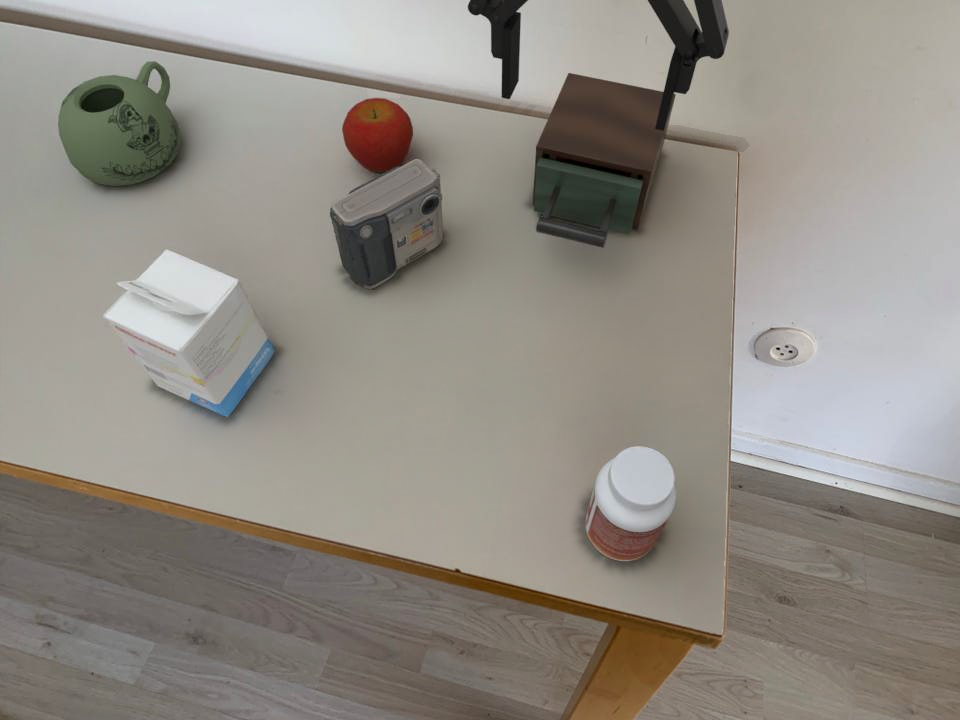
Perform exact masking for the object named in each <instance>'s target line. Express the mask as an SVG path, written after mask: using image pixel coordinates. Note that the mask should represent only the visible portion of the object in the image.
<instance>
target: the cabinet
mask: <svg viewBox="0 0 960 720" xmlns="http://www.w3.org/2000/svg"><path fill="white" fill-rule="evenodd" d="M663 92H664V91H661V90H657V89H652V88H646V87H642V86H638V85H632V84H627V83H623V82H622V83H621V82H617V81H611V80H606V79H601V78H597V77H591V76H587V75H582V74H577V73H572V72H568V73H567V75H566V77H565V79H564V82H563V84H562V87H561V88H560V91H559V93H558V96H557V98H556V100H555V103H554V105H553V107H552V109H551V111H550V113H549V114H550V115H549V116H548V118H547V120H546V122H545V125H544V127H543V129H542V131H541V134H540V136H539V139H538V141H537V142H536V146H535V160H534V176H533V192H532V206H534V198H535V183H536V168H537V163H538V161H539V158H545V159H549V156H550V155H553V156H557V157H562V158H566V159H571V160H575V161H580V162H584V163H589V164H593V165H598V166H602V167H606V168H611V169H615V170H620V171H624V172H629V173H633V174H638V175H642V177H641V180H643V184H642V188H641V193H640V197H639V201H638V206H637V210H636V214H635V218H634V223H633V227H632V230H636V231H638V230H639V227H640V224H641V221H642V218H643V214H644V211H645V207H646V205H647V201H648V198H649V196H650V195H649V194H650V191H651V188H652V185H653V182H654V178H655V175H656V172H657V169H658V165H659V162H660V159H661V156H662V153H663V148H664V143H665V139H666V135H667V132H668V127H669V125H670V124H669V123H670V120H671V116H672V113H673V112H672V111H673V108H674V104H675V100H676V95H677V94H676V93H674V96H673V100H672V104H671V108H670V112H669V115H668V118H667V122H666V125H665V128H664V131H662V130H657V129H655V127H656V122H657V118H658V114H659V109H660V105H661V101H662V96H663Z"/></svg>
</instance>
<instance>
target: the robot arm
mask: <svg viewBox="0 0 960 720" xmlns="http://www.w3.org/2000/svg"><path fill="white" fill-rule="evenodd" d="M528 1H529V0H469V2H468V4H467V11H468V12H469V13H470V14H471V15H473V16H477V17H478V16H479V15H481V16H483V17H484V18H485V19H487V20H488V21H489V24H490V52H491V55H492V58H494V59H499V60H501V99H506V100H511V98H512V96H513V94H514V91H515V89H516V87H517V85H518V83H519V81H520V53H521V52H520V51H521V50H520V49H521V22H522V21H521V20H522V12H520V11H519V10H520V8H522V7H523V6H524V5H525V4H526V3H528ZM647 2H648V3H649V6H650V7H651V9H652V10H653V12H654V13H655V15H656V17H657V18H658V20H659V21H660V23H661V25H662V27H663V28H664V30H665V32H666V34H667V35H668V37H669V38H670V40H671V42H672V43H673V45H674V48H673V49H674V50H673V53H672V55H671V59H670V62H669V67H668V70H667V75H666V79H665V83H664V88H663V91H662V92H663V96H662V101H661V105H660V109H659V114H658V118H657V122H656V127H655V129H657V130H662V131H664V128H665V125H666V122H667V118H668V115H669V112H670V108H671V104H672V100H673V96H674V94H676V93H677V94H682V95H686V94H687V93H688V92H689V91H690V88H691V85H692V82H693V79H694V74H695V70H696V67H697V63H698V62H699V60H700V59H702V58H707V57H709V58H711V59H713V60H718V59H721V58H722V57H723V56H724V54H725V51H726V47H727V43H728V39H729V35H730V32H729V26H728V22H727V17H726V13H725V9H724V5H723V1H722V0H693V2H694V5H695V10H696V13H697V17H698V22H699V25H700V27H699V25H698V23H697V21H696V20H695V18H694V16H693V14H692V12H691V11H690V9H689V8H688V6H687V4H686V2H685V0H647Z"/></svg>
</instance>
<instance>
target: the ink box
mask: <svg viewBox="0 0 960 720" xmlns="http://www.w3.org/2000/svg"><path fill="white" fill-rule="evenodd" d="M241 284H242V283H241V282H240V280H239V279H238V278H236V277H233V276H231V275H228V274H226V273H224V272H221V271H220V270H217V269H214V268H212V267H210V266H207V265H206V264H203V263H201V262H199V261H196V260H193V259H191V258H189V257H186V256H184V255H181V254H179V253H178V252H175V251H173V250H170V249H164V250H163V251H161V252H160V254H159V255H158V256H157V257H156V258H155V259H154V260H153V261H152V262H151V263H150V265H148V266H147V268H146V269H145V270H144V271H143V272H142V273H141V274H140V276H139V277H137V278H136V279H132V280H125V281H117V282H116V286H118V287H121V288H122V289H125V291H124V292H123V293H122V294H121V295H120V297H119V298H118V299H116V301H115V302H114V303H113V304H112V305H111V306H110V307H109V308H108V309H107V310H106V311H105V312H104V314H102V317H103V318H104V319H105V320H106V321H107V323H108V324H109V325H110V327H111V328H112V329H113V330H114V332H115V333H116V334H117V335H118V337H119V338H120V339H121V341H122V342H123V343H124V345H125V347H127V349H128V350H129V351H130V352H131V354H132V355H133V356H134V358H135V359H136V360H137V362H138V363H139V364H140V365H141V366H142V368H143V369H144V370H145V372H146V373H147V374H148V375H149V376H150V378H151V379H152V381H153V382H154V383H155V385H156V386H157V387H158V388H161V389H163V390H165V391H166V392H170V393H172V394H173V395H176V396H178V397H180V398H183V399H185V400H187V401H189V402H192V403H194V404H196V405H198V406H200V407H203V408H204V409H207V410H210V412H211V411H212V412H214V413H216V414H218V415H221V416H223V417H225V418H229V417H230V416H231V414H232V413H233V411H234V410H235V408H236V407H237V406H238V405H239V403H240V402H241V400H242V399H243V398H244V396H245V395H246V393H247V392H248V391H249V389H250V388H251V387H252V385H253V384H254V382H255V381H256V380H257V378H258V377H259V376H260V374H261V373H262V372H263V371H264V369H265V368H266V366H267V364H268V363H269V362H270V360H271V359H272V357H273V355H274V354H275V352H276V351H275V348H273V345H272V342H271V341H270V339H269V337H268V335H267V333H266V331H265V330H264V328H263V326H262V324H261V322H260V319H259V318H258V315H257V313H256V312H255V309H254V308H253V306H252V303H251V302H250V300H249V298H248V296H247V294H246V292H245V290H244V288H243V285H241Z"/></svg>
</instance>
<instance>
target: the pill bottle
mask: <svg viewBox="0 0 960 720" xmlns="http://www.w3.org/2000/svg"><path fill="white" fill-rule="evenodd" d="M675 482H676V476H675V470H674V468H673V465H672V464H671V462H670V461H669V459H668V458H667V457H666V456H665V455H664V454H662V453H661V452H659V451H658V450H656V449H654V448H652V447H648V446H642V445H636V446H630V447H627V448H625V449H623V450H621V451H620V452H619V453H618V454H616V456H615V457H614V458H611V459H610V460H609V461H608V462H606V463H605V464H604V465H603V466H602V468H601V469H600V470H599V472H598V474H597V477H596V479H595V482H594V486H593V489H592V492H591V496H590V500H589V503H588V505H587V506H588V507H587V510H586V515H585V523H584V524H585V530H586V534H587V537H588V539H589V541H590V543H591V544H592V546H594V548H595V549H596V551H598V552H600V554H602V555H603V556H605V557H607V558H609V559H611V560H614V561H620V562H631V561H636V560H639V559H641V558H643V557H645V556H646V555H647V554H648V553H649V552H650V551H651V550H652V549H653V548H654V546H655V544H656V543H657V541H658V540H659V537H660V536H661V533H662V531H663V530H664V528H665V526H666V524H667V523H668V521H669V519H670V517H671V516H672V513H673V511H674V509H675V506H676V502H677V489H676V485H675Z"/></svg>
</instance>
